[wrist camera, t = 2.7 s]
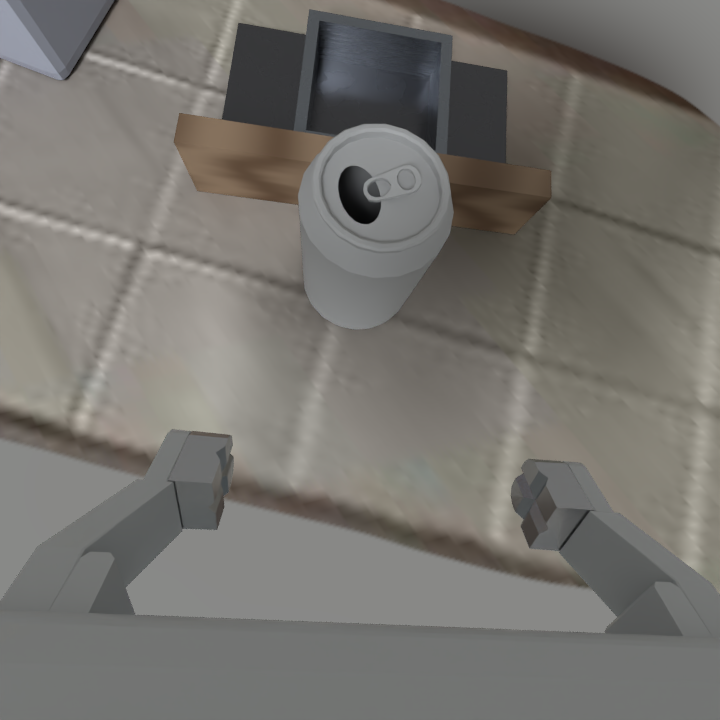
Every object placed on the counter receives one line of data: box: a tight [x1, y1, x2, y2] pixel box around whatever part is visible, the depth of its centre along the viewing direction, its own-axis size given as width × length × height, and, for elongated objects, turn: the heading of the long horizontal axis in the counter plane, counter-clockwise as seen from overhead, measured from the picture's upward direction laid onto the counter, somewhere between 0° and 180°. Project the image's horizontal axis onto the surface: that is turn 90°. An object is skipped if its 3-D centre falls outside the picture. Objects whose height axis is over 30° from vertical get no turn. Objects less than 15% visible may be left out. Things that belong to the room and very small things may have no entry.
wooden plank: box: [174, 113, 551, 234], centre depth 28 cm, size 24×2×5 cm, turn 85°
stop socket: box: [222, 9, 507, 164], centre depth 30 cm, size 22×12×3 cm, turn 85°
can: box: [298, 124, 454, 330], centre depth 23 cm, size 8×8×12 cm
